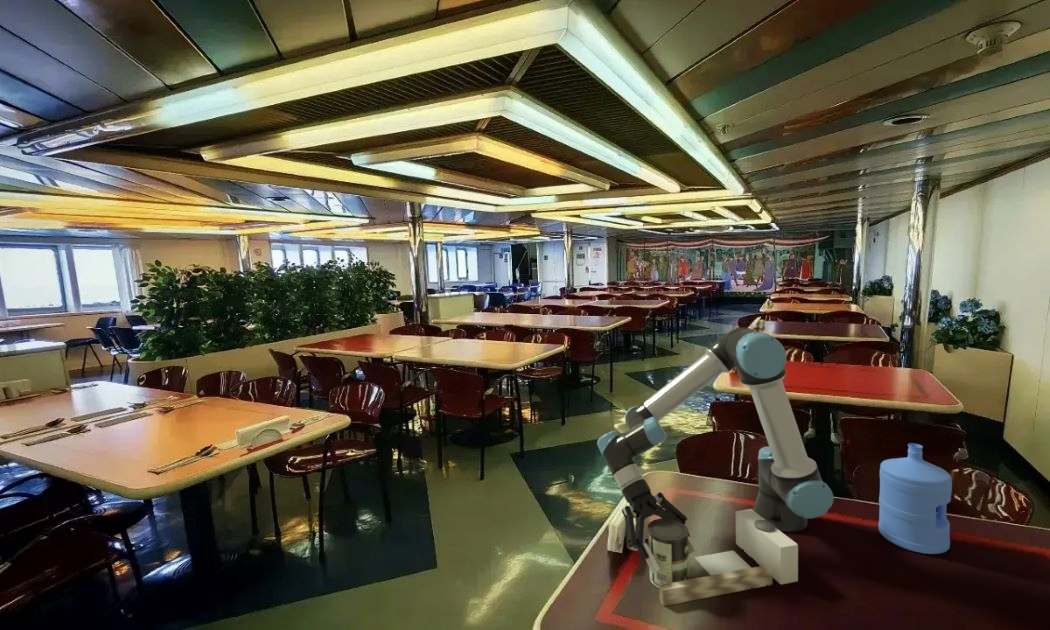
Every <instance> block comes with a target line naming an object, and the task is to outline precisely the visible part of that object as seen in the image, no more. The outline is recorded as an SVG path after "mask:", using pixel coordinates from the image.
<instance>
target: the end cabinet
mask: <svg viewBox="0 0 1050 630" xmlns="http://www.w3.org/2000/svg"><path fill="white" fill-rule="evenodd" d="M735 544H736V545H737V546H738V547H739V548H740V549H741V550H742V549H743V550H744V551H743V550H742V551H743V552H745V553H746V554H747V555H748V556H749V558H751V557H752V558H753V559H754V560H755V561H756V563H757V564H758V565H759V566H764V565H767V566H768V567H770V568H771V569H772V579H774V580H775V581H776V582H777V583H778V584H780V585H786V584H791V583H792V584H793V583H795V582H796V583H797V582H799V545H798V543H797V542H795V541H794V540H793V539H792V538H790V537H789V536H787V535H786V534H785V533H783V531H779V530H778V529H777V528H775V525H774V524H773V523H771V522H769V521H766V520H765V519H764V518H762V517H761V516H760V515H758V514H757V513H756V512H754V511H753V508H749V509H743V510H736V511H735ZM752 558H751V559H752ZM694 559H695V561H697V562H698V564H699V565H700V566H701V568H703V569H704V571H705V572H707V574H708V576H711V575H716V574H722V573H727V572H732V571H738V570H743V569H748V568H752V567H751V566H750V565H749V564H748V563H747V562H746V561H745V560H744V559H743V558H742V557H741V556H740V555H739V554H738V553H737V552H736V551H734V550H729V551H723V552H717V553H712V554H706V555H700V556H695V557H694ZM753 559H752V560H753ZM754 560H753V561H754ZM755 561H754V562H755Z"/></svg>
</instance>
